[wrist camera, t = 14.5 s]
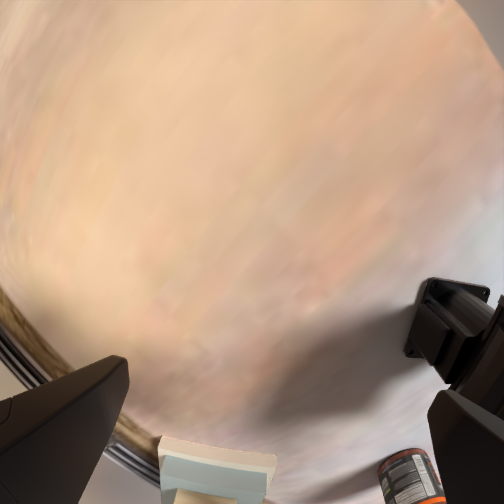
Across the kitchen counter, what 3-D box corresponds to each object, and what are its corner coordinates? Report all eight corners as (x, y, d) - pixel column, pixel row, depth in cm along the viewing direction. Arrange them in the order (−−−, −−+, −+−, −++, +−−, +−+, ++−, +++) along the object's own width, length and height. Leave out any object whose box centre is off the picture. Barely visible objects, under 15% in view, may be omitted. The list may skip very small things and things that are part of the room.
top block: (267, 473, 24) (266, 493, 21) (249, 511, 26) (247, 528, 24) (166, 454, 24) (159, 473, 21) (167, 496, 26) (162, 512, 24)
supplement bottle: (425, 464, 26) (453, 535, 15) (379, 482, 26) (397, 558, 15) (426, 438, 24) (461, 518, 13) (374, 459, 25) (396, 546, 14)
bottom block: (276, 448, 26) (276, 467, 23) (257, 497, 29) (257, 513, 26) (164, 429, 26) (157, 447, 24) (167, 482, 29) (162, 497, 26)
